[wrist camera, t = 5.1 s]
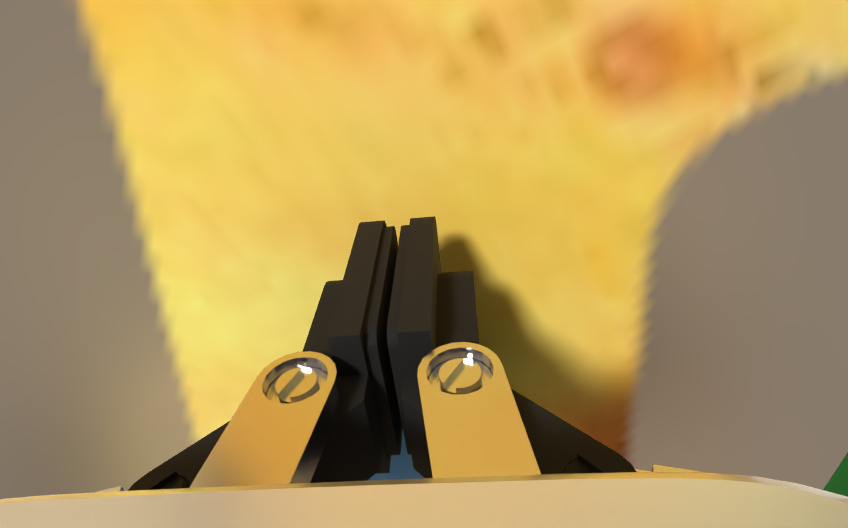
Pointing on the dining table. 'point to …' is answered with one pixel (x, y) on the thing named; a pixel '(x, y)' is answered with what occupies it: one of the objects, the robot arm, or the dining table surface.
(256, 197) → the dining table surface
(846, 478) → the milk carton
